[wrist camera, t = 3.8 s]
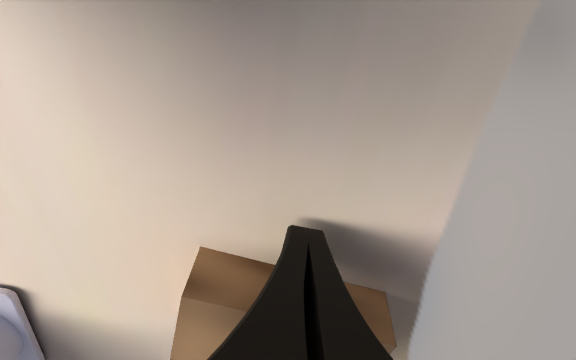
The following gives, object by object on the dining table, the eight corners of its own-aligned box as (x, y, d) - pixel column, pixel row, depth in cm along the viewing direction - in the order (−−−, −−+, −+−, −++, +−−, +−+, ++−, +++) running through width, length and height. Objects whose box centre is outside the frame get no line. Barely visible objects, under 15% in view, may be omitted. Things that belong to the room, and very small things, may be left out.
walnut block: (187, 314, 19) (168, 369, 16) (202, 241, 15) (181, 296, 13) (338, 348, 20) (342, 405, 17) (383, 286, 16) (396, 345, 14)
